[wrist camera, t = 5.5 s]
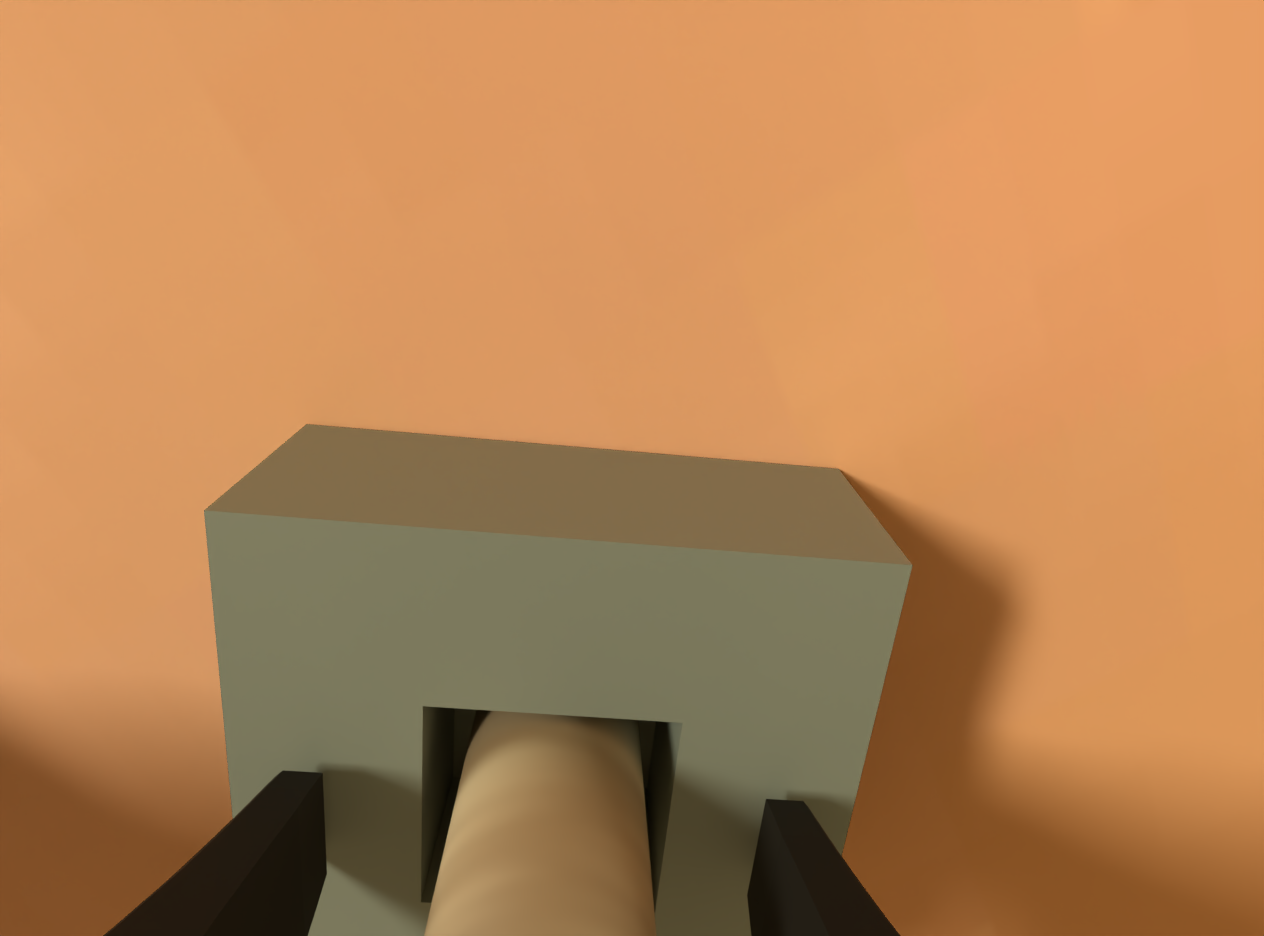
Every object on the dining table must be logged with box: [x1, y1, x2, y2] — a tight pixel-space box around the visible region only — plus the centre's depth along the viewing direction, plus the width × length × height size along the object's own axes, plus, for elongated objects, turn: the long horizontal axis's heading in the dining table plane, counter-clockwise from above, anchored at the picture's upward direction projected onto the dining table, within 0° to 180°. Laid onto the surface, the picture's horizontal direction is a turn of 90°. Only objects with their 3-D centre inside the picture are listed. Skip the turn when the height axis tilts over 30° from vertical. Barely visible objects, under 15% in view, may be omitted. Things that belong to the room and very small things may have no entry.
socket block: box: [204, 424, 913, 936], centre depth 15 cm, size 10×10×4 cm
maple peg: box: [424, 710, 656, 936], centre depth 12 cm, size 3×3×7 cm
